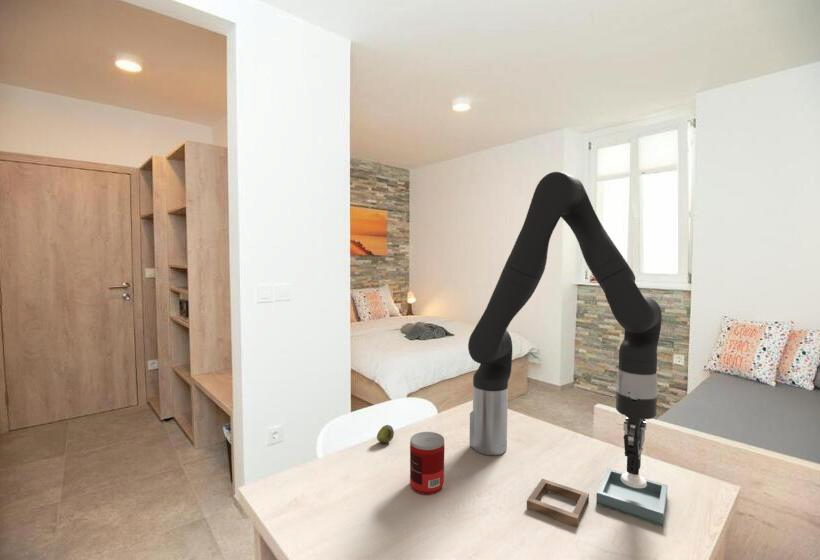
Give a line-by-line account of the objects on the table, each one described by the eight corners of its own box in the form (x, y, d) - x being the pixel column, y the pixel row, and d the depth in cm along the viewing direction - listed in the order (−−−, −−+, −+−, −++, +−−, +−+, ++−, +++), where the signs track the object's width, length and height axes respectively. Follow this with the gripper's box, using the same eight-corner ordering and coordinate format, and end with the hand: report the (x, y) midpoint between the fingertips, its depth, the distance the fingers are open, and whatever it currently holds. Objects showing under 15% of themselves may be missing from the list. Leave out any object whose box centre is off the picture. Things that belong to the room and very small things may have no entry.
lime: (375, 445, 112) (375, 427, 112) (380, 437, 117) (380, 420, 117) (391, 447, 111) (391, 429, 111) (395, 439, 116) (395, 422, 116)
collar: (526, 508, 85) (526, 500, 84) (541, 486, 93) (542, 478, 93) (577, 527, 79) (577, 518, 79) (588, 501, 87) (589, 493, 87)
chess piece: (650, 489, 84) (652, 442, 84) (624, 487, 85) (626, 440, 84) (641, 476, 89) (643, 432, 88) (617, 474, 90) (619, 430, 89)
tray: (596, 504, 86) (596, 492, 86) (607, 478, 96) (607, 468, 96) (662, 526, 79) (663, 513, 79) (667, 496, 89) (667, 485, 89)
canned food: (448, 480, 95) (449, 434, 94) (436, 499, 88) (436, 450, 87) (418, 473, 98) (418, 428, 97) (404, 490, 91) (404, 443, 90)
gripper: (621, 379, 94) (619, 452, 95) (610, 397, 82) (608, 479, 83) (659, 385, 89) (656, 462, 90) (653, 405, 78) (650, 492, 79)
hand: (633, 470), depth 87 cm, fingers closed on chess piece
